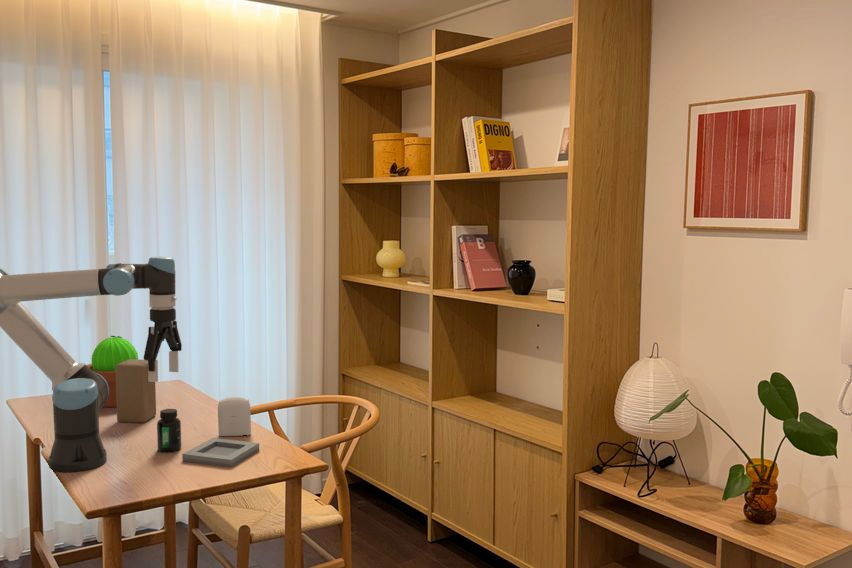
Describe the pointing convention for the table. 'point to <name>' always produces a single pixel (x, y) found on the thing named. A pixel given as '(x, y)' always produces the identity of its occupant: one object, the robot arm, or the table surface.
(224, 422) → the photo printer
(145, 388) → the wooden block
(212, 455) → the base plate
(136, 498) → the table surface
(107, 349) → the potted cactus
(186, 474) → the table surface
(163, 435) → the supplement bottle
